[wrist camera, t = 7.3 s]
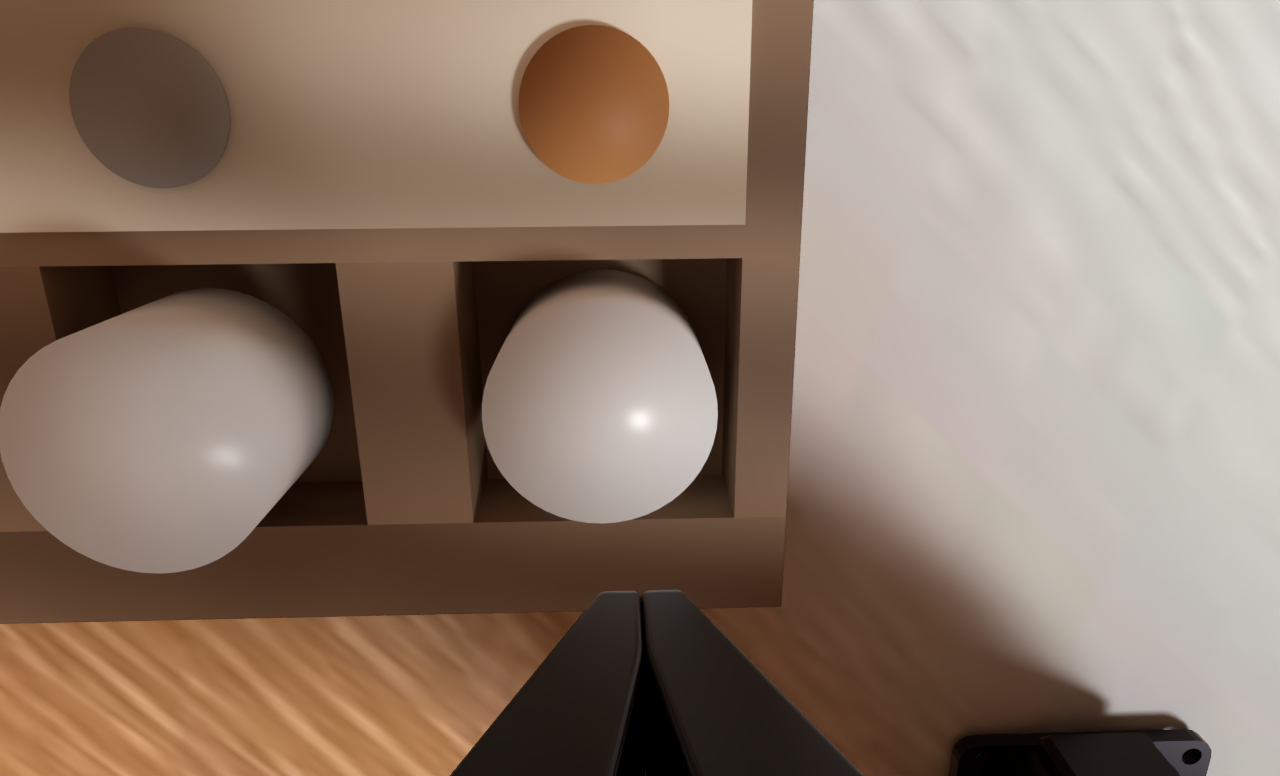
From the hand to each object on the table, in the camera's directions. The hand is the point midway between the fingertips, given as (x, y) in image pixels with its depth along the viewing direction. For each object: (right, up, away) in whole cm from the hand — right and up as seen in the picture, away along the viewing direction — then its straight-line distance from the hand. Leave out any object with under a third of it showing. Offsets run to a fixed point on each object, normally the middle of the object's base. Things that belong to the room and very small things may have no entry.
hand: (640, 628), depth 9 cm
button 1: (-1, +3, +8) cm, 9 cm away
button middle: (-8, +2, +7) cm, 11 cm away
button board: (-8, +5, +9) cm, 13 cm away
